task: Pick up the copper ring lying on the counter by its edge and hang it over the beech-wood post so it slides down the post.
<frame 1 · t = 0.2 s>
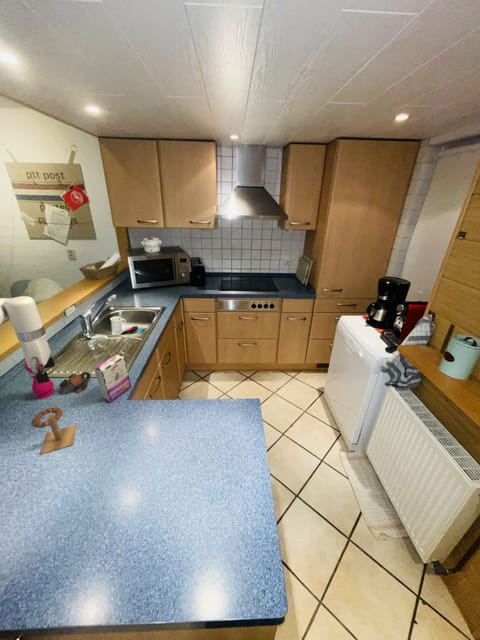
hand: (47, 374, 91), 18 cm above the worktop, tool pointing down, fingers open, 9 cm apart
pepper mill: (46, 395, 107), on the worktop
ring: (48, 417, 95), point 1 cm above the worktop
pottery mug: (78, 388, 112), on the worktop
post: (60, 441, 87), on the worktop
candy bar box: (117, 393, 109), on the worktop
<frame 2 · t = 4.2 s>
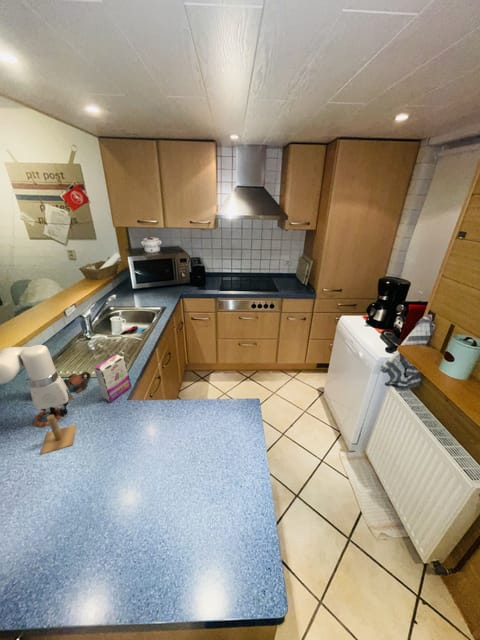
hand: (59, 416, 97), 0 cm above the worktop, tool pointing down, fingers closed on ring, 2 cm apart
ring: (48, 417, 95), point 1 cm above the worktop, touching gripper
everything else where it was.
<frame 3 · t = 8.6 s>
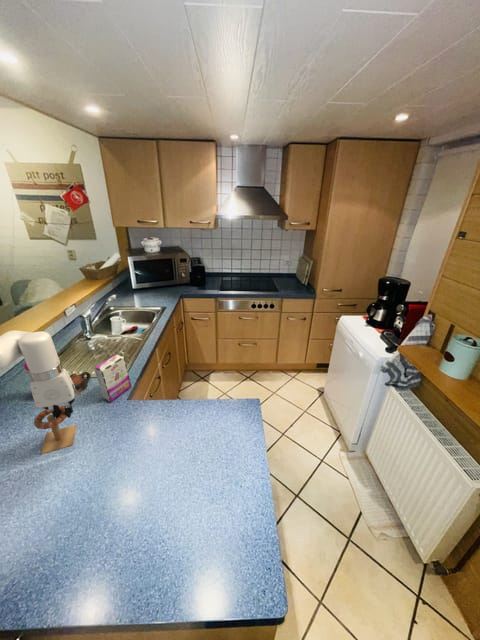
hand: (64, 415, 84), 11 cm above the worktop, tool pointing down, fingers closed on ring, 2 cm apart
ring: (51, 416, 82), point 11 cm above the worktop, touching gripper
everything else where it was.
when the fingers open (11 cm above the worktop, at t = 11.0 s): ring drops 10 cm, resting on post.
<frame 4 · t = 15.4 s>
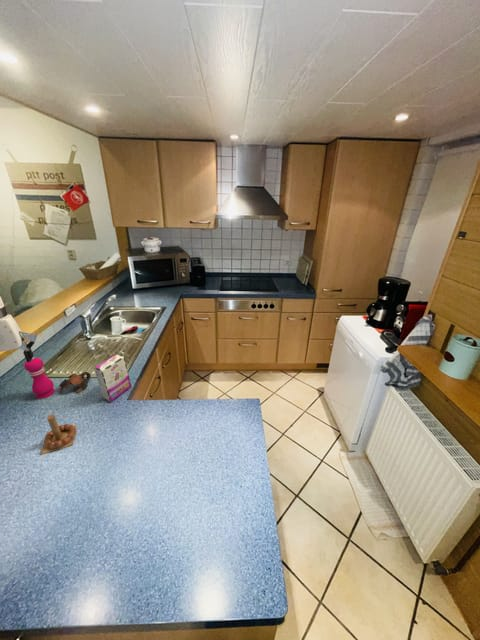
hand: (11, 363, 80), 28 cm above the worktop, tool pointing down, fingers open, 9 cm apart
ring: (60, 435, 86), point 2 cm above the worktop, touching post
everything else where it was.
at the end: ring 0.6 cm from the post (horizontally); ring point 2.5 cm above the worktop; the gripper is holding nothing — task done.
